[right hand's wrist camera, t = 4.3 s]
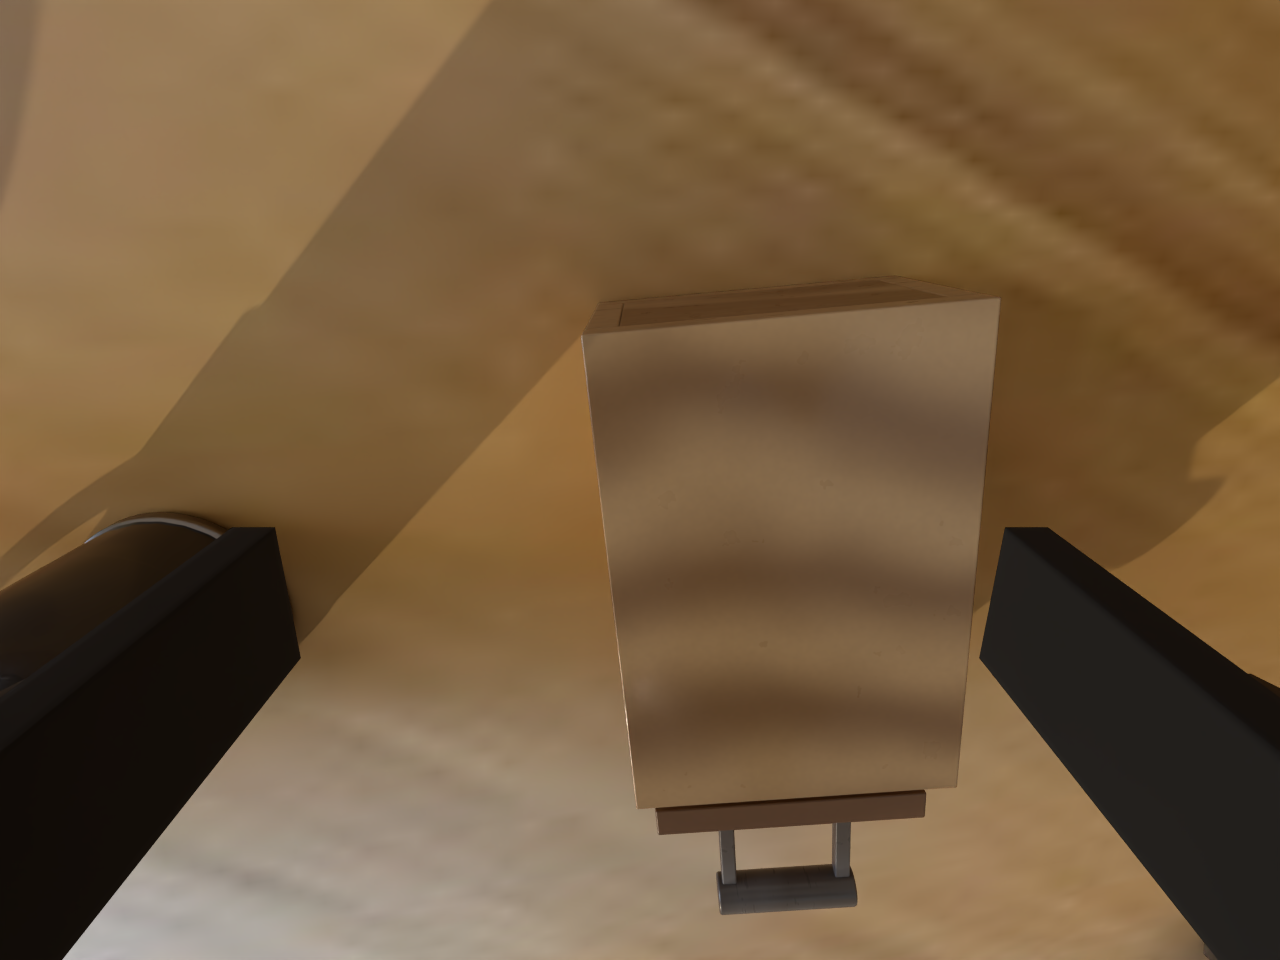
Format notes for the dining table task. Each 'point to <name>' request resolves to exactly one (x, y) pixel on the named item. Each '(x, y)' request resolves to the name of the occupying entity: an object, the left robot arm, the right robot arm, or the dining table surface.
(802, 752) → the cabinet
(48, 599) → the left robot arm
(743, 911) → the drawer
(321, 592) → the dining table surface
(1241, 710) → the right robot arm
